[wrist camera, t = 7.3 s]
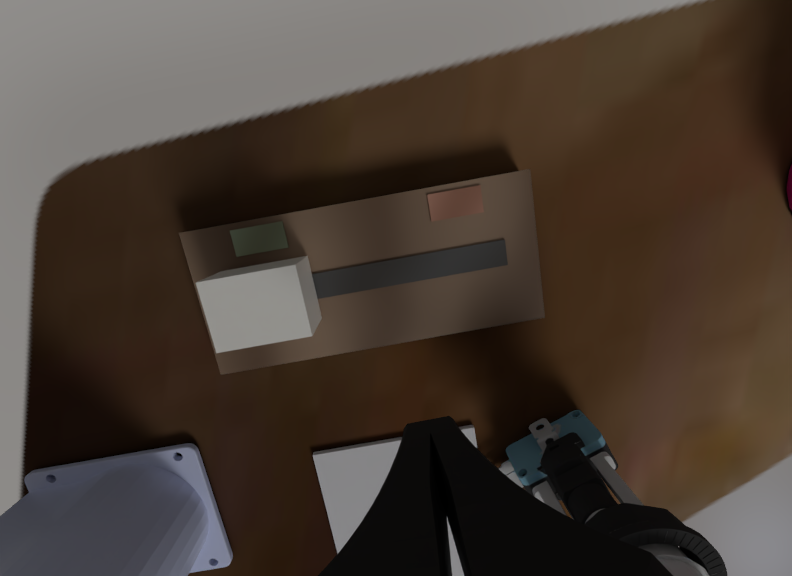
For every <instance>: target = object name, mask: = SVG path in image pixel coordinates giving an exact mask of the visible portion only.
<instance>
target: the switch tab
mask: <svg viewBox="0 0 792 576" xmlns="http://www.w3.org/2000/svg"><path fill="white" fill-rule="evenodd" d="M196 286H197V289H198V293H199V296H200V300H201V303H202V306H203V310H204V313H205V316H206V320H207V323H208V327H209V330H210V333H211V337H212V340H213V343H214V347H215V350H216V353H221V352H226V351H232V350H238V349H243V348H249V347H254V346H260V345H266V344H271V343H277V342H283V341H288V340H294V339H300V338H305V337H311V336H313V334H314V332H315V330H316V328H317V326H318V325H319V323H320V321H321V319H322V317H321V312H320V308H319V303H318V299H317V295H316V290H315V286H314V282H313V277H312V273H311V268H310V264H309V260H308V256H303V257H298V258H292V259H287V260H281V261H275V262H270V263H264V264H259V265H253V266H248V267H242V268H237V269H231V270H226V271H221V272H218V273H216V274H214V275H212V276H209V277H207V278H205V279H203V280H200V281H198V282H196Z"/></svg>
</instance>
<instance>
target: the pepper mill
mask: <svg viewBox="0 0 792 576" xmlns="http://www.w3.org/2000/svg"><path fill="white" fill-rule="evenodd" d="M787 195H788V201H789V207H790V209H791V211H792V164H791V167H790V170H789V174H788V181H787Z"/></svg>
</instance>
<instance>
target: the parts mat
mask: <svg viewBox="0 0 792 576" xmlns="http://www.w3.org/2000/svg"><path fill="white" fill-rule="evenodd" d="M459 428H460V430H461V431H462V432H463V433H464V435H465V436H466V437H467V438H468V439H469V440H470V442H471V443H472V444H473V445H474V446H475V447H476V448H477V443H476V437H475V430H474V426H473V425H467V426H462V427H459ZM401 440H402V437H398V438H392V439H386V440H381V441H375V442H369V443H363V444H357V445H352V446H346V447H340V448H334V449H329V450H323V451H317V452H313V459H314V463H315V467H316V471H317V475H318V479H319V483H320V487H321V490H322V494H323V498H324V502H325V506H326V510H327V514H328V518H329V522H330V526H331V530H332V534H333V538H334V542H335V545H336V549H337V553H339V552H340V550H341V549H342V548H343V547H344V545H345V544H346V543H347V541H348V540H349V539H350V537H351V536H352V534H353V533H354V532H355V530H356V529H357V527H358V526H359V525H360V523H361V522H362V520H363V519H364V517H365V515H366V514H367V512H368V511H369V509H370V507H371V506H372V504H373V502H374V501H375V499H376V497H377V495H378V493H379V491H380V489H381V487H382V485H383V483H384V481H385V479H386V477H387V475H388V473H389V471H390V469H391V466H392V464H393V461H394V459H395V457H396V454H397V451H398V449H399V446H400V443H401ZM447 524H448V535H449V546H450V557H451V568H452V576H464V573H463V570H462V566H461V563H460V559H459V556H458V553H457V549H456V546H455V542H454V539H453V536H452V532H451V529H450V525H449V522H448V518H447Z"/></svg>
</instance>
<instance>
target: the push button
mask: <svg viewBox="0 0 792 576" xmlns="http://www.w3.org/2000/svg"><path fill="white" fill-rule="evenodd" d="M538 425H544V427H543V428H541V429H539V430H536V427H537V426H538ZM529 429H530V431H531V433H532V434H530V435H528V436H526V437H524V438H522V439H520V440H518V441H516V442H515V443H513V444H511V445H509V446H508V447H507V448H506V453H507V455H508V457H509V460H507V461H505V462H503V463H502V464H501V467H499V468H498V469H499V470H500V471H501V472H502V473H504V474H505V475H506V476H507V477H508V478H510V479H511V480H512V481H513V482H515V483H516V484H517V485H519V486H520V487H521V488H522V487H524V488H525V490H526V491H527V492H528V493H530V494H531V495H533V496H534V497H536V498H537V499H539V500H540V501H542V502H543V503H545V504H547V505H549V506H550V507H552V508H554V509H555V510H557V511H559V512H561V513H562V514H564V515H566V513H565V511H564V510H563V508H562V506H561V504H560V503H559V501H558V500H562V501H563V503H564V505H565V506H566V508H567V510H568V512H569V513H570V515H571V517H572V518H573V520H575V521H577V522H579V523H582V524H584V525H586V526H588V527H590V528H592V529H594V530H596V531H598V532H601V533H603V534H605V535H608V536H610V537H613V538H615V539H618V540H620V541H623V542H626V543H628V544H631V545H633V546H636V547H638V548H641V549H643V550H646V551H649V552H651V553H652V554H653V555H654V556H655V557H656V558H657V559H658V560H659V561H660V562H661V563H662V564H663V565H664V566H665V568H666V569H667V570H668V571H669V572H670V573H671V574H672V575H673V576H727V571H726V567H725V564H724V562H723V560H722V557H721V556H720V555H719V553H718V552H717V550H716V549H715V548H714V547H713V546H712V545H711V544H710V543H709V542H708V541H707V540H706V539H705V538H704V537H703V536H702V535H701V534H700V533H698V532H696V531H695V530H693V529H691V528H689V527H687V526H685V525H684V524H683V523H682V522H681V521H680V520H679V519H677V518H676V517H675V516H674V515H673V514H671V513H670V512H669V511H668V510H666V509H663V508H656V507H650V506H644V505H643V504H642V502H641V501H640V500H639V499H638V498H637V497H636V495H635V494H634V493H633V492H632V491H631V489H630V488H629V487H628V486H627V485H626V483H625V482H624V481H623V480H622V479H621V477H620V476H619V475H618V474H617V473H616V471H615V470H616V469H617V468H618V464H617V462H616V460H615V458H614V457H613V455H612V453H611V451H610V449H609V447H608V445H607V444H606V442H605V440H604V438H603V436H602V434H601V433H600V432H599V430H598V429H597V428H596V427H595V426H594V425H593V424H592V423H591V422H590V421H589V419H588V418H587V417H586V416H585V415H584V414H583V413H582V412H581V411H580V410H574V411H572V412H570V413H568V414H567V415H565V416H564V417H562V418H560V419H558V420H556V421H554V422H552V423H549V422H548V420H547V419H546V418H542V419H540V420H538V421H536V422H534V423H532V424H530V426H529ZM601 478H602V479H603V480H604V482H605V483H606V484H607V486H608V487H609V488H610V490H611V491H612V492H613V493H614V495H615V496H616V497H617V499H618V500H619V501H620V503H621V504H619V505H618V504H617V503H616V501H615V500H614V499H613V497H612V496H611V494H610V492H609V491H608V489H607V487H606V485H605V483H604V482H603V480H602V479H601ZM566 516H567V515H566ZM678 546H679V547H678Z"/></svg>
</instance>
